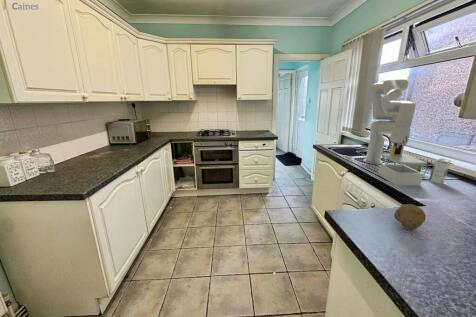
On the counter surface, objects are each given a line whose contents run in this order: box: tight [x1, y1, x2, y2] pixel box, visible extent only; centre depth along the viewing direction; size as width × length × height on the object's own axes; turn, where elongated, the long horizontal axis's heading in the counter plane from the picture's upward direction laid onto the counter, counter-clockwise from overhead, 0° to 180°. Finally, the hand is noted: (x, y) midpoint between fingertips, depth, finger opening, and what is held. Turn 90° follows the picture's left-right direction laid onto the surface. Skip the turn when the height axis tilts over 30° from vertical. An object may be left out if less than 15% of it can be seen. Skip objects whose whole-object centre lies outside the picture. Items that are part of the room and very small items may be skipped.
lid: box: [381, 145, 428, 165], centre depth 123 cm, size 17×15×7 cm
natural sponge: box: [394, 203, 427, 230], centre depth 81 cm, size 9×9×10 cm
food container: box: [406, 157, 426, 173], centre depth 137 cm, size 12×6×10 cm, turn 179°
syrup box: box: [428, 157, 452, 185], centre depth 122 cm, size 6×6×14 cm
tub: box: [378, 163, 424, 186], centre depth 126 cm, size 16×14×8 cm
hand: (395, 153), depth 129 cm, fingers closed on lid
